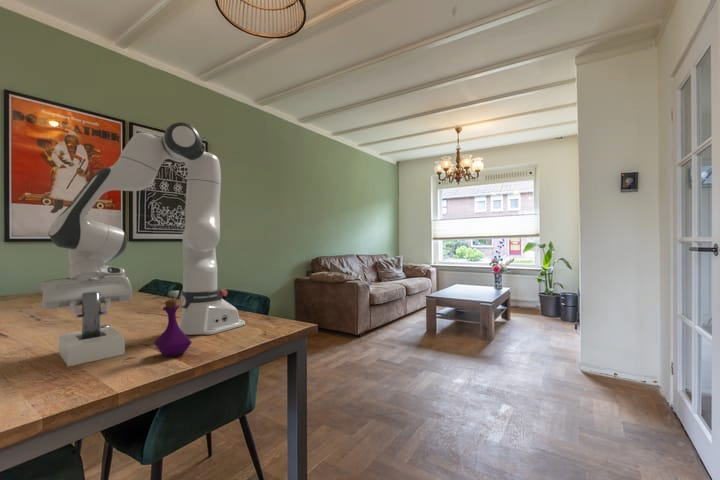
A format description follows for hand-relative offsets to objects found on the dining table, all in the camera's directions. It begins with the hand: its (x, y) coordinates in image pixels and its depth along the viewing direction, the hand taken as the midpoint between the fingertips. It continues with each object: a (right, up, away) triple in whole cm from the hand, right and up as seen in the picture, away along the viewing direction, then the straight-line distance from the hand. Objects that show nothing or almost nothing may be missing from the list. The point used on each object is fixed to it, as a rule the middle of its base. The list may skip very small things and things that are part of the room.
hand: (91, 314), depth 92 cm
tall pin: (0, -9, 0) cm, 9 cm away
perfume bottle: (+23, -11, 0) cm, 26 cm away
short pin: (-7, -11, +13) cm, 18 cm away
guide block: (0, -11, 0) cm, 11 cm away
